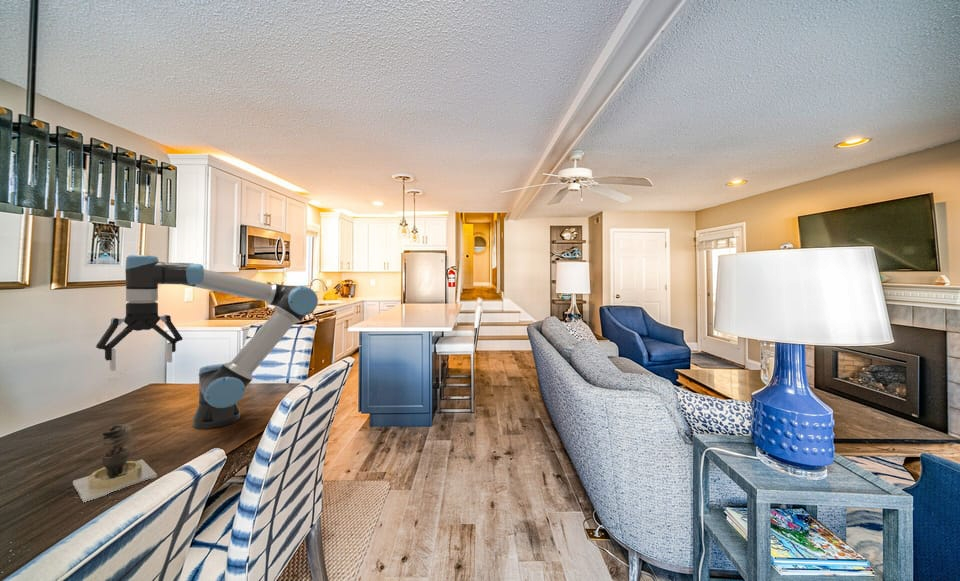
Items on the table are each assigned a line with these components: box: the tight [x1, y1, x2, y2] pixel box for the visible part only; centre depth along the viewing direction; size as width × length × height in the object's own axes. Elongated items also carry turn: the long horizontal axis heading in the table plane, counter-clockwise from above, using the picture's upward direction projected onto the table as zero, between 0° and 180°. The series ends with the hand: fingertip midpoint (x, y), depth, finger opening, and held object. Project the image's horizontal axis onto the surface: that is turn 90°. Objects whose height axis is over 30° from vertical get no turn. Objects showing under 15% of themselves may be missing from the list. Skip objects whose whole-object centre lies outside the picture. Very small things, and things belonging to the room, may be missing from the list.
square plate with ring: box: [72, 459, 158, 504], centre depth 96 cm, size 14×14×3 cm
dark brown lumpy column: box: [102, 424, 132, 477], centre depth 96 cm, size 6×6×15 cm
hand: (142, 365), depth 112 cm, fingers open, 13 cm apart
